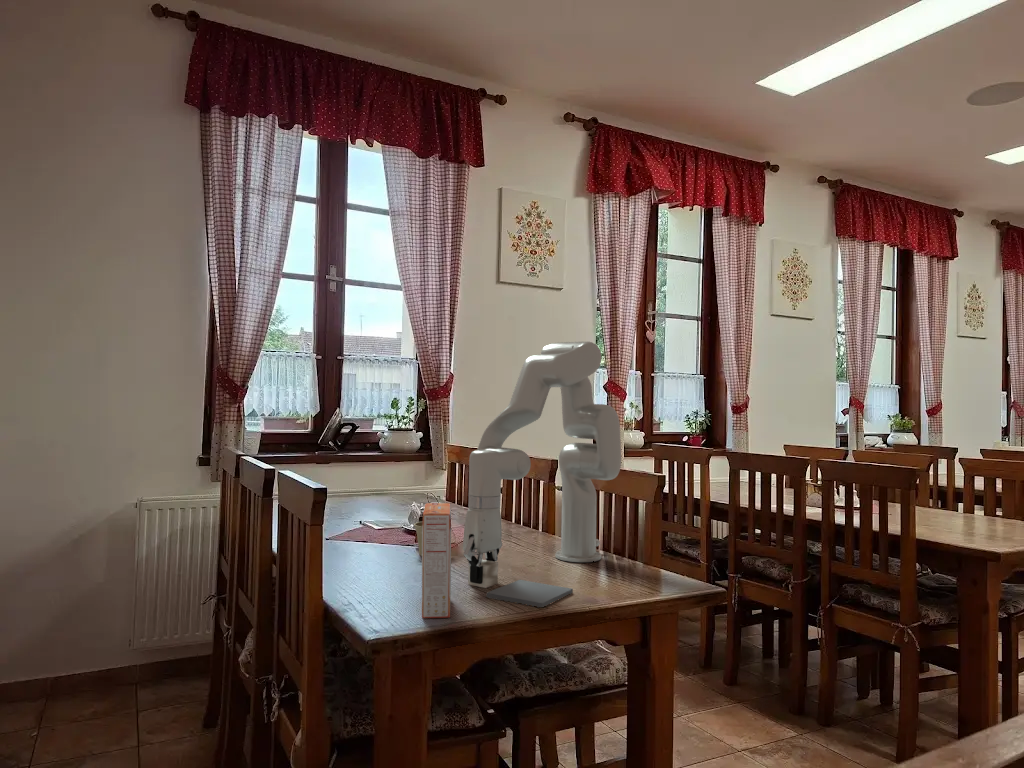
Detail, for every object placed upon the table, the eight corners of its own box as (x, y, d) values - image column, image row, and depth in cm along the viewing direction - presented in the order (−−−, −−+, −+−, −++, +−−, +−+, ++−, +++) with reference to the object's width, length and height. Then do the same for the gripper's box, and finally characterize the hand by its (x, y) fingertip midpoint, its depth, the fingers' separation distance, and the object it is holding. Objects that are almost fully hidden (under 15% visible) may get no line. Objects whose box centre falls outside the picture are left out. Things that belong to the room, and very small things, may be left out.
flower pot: (406, 556, 197) (407, 525, 197) (423, 550, 206) (424, 519, 206) (437, 560, 193) (438, 527, 194) (453, 553, 202) (453, 522, 202)
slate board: (519, 583, 170) (519, 579, 170) (572, 593, 163) (572, 588, 163) (486, 597, 159) (486, 592, 159) (542, 608, 151) (542, 603, 151)
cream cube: (480, 580, 173) (480, 559, 173) (497, 583, 171) (498, 562, 171) (468, 584, 169) (468, 563, 169) (485, 587, 166) (486, 566, 166)
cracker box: (422, 599, 156) (424, 502, 157) (450, 599, 157) (452, 502, 157) (419, 619, 142) (421, 512, 143) (450, 619, 143) (452, 512, 143)
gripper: (491, 497, 179) (489, 571, 179) (450, 505, 165) (448, 585, 165) (516, 500, 175) (515, 575, 175) (477, 508, 161) (475, 590, 161)
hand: (483, 579), depth 170 cm, fingers closed on cream cube, 4 cm apart
